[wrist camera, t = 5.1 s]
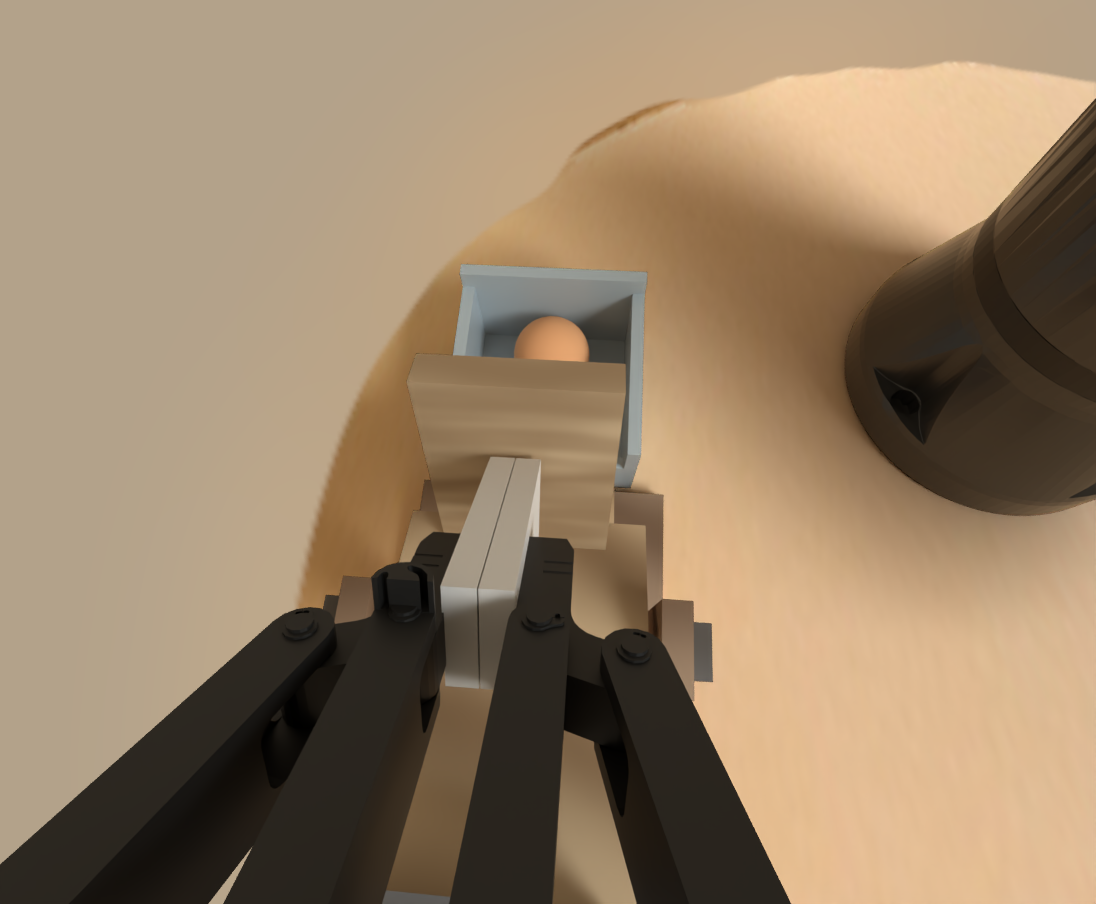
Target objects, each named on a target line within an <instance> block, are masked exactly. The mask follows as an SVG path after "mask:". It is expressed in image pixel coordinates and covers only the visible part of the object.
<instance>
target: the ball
mask: <svg viewBox="0 0 1096 904" xmlns="http://www.w3.org/2000/svg"><path fill="white" fill-rule="evenodd" d="M514 358H519V359H539V360H559V361H579V362H589V346H588V342H587V340H586V337H585V335H584V334H583V332H582V331H581V330H580V328H579V327H577V326H576V325H575V324H574V323H573V322H571V321H569V320H567V319H565V318H562V317H557V316H547V317H542V318H539V319H536V320H534V321H532V322H531V323H530V324H528V325H527V326H526V327H525V328H524V329H523V330H522V332H521V333H520V335H519V336H518V338H517V341H516V344H515V349H514Z"/></svg>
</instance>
